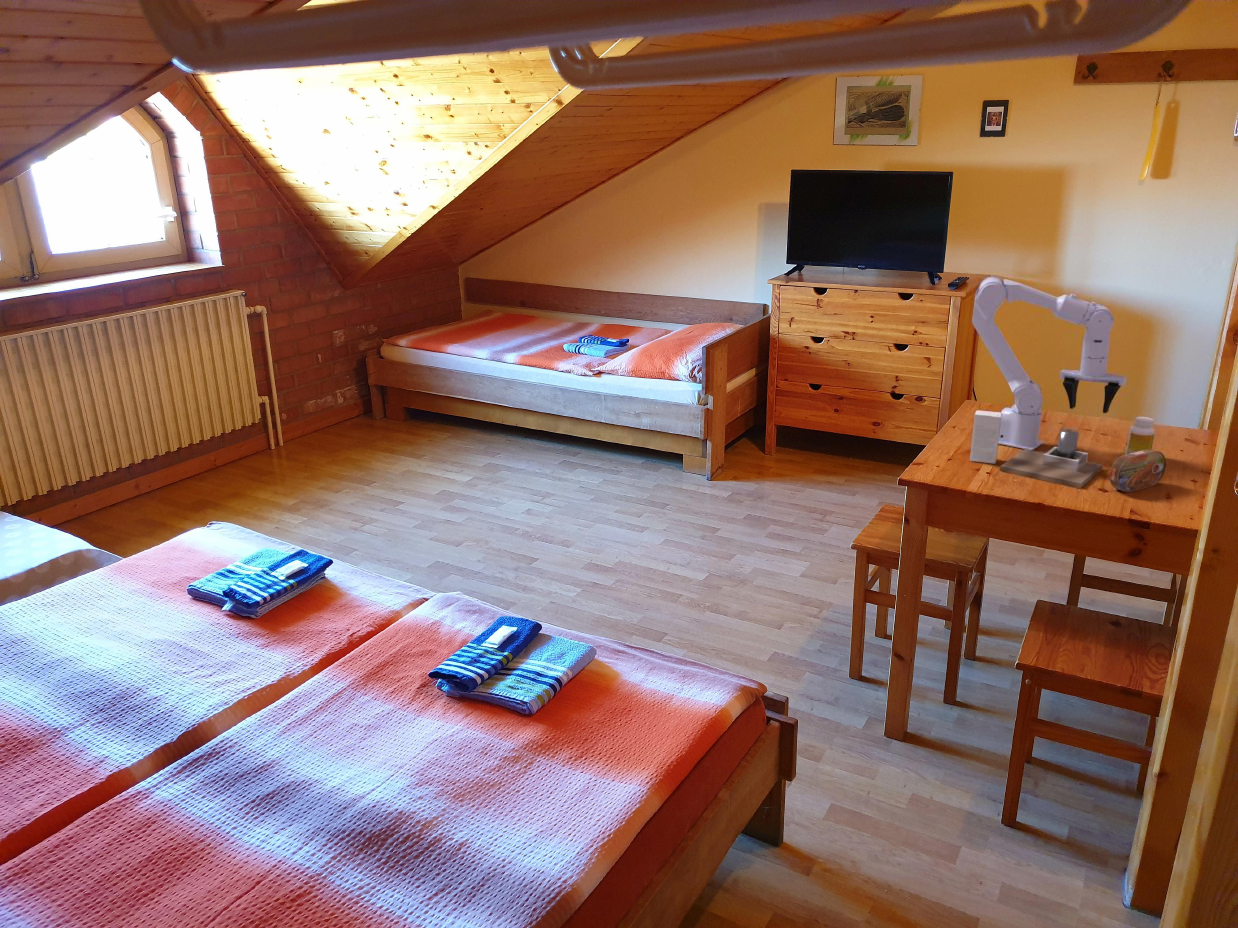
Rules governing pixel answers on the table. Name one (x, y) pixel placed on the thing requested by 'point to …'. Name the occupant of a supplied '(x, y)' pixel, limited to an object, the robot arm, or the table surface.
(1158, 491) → the table surface
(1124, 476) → the tin
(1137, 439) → the supplement bottle
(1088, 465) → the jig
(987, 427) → the skincare box
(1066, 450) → the grey metal cylinder
